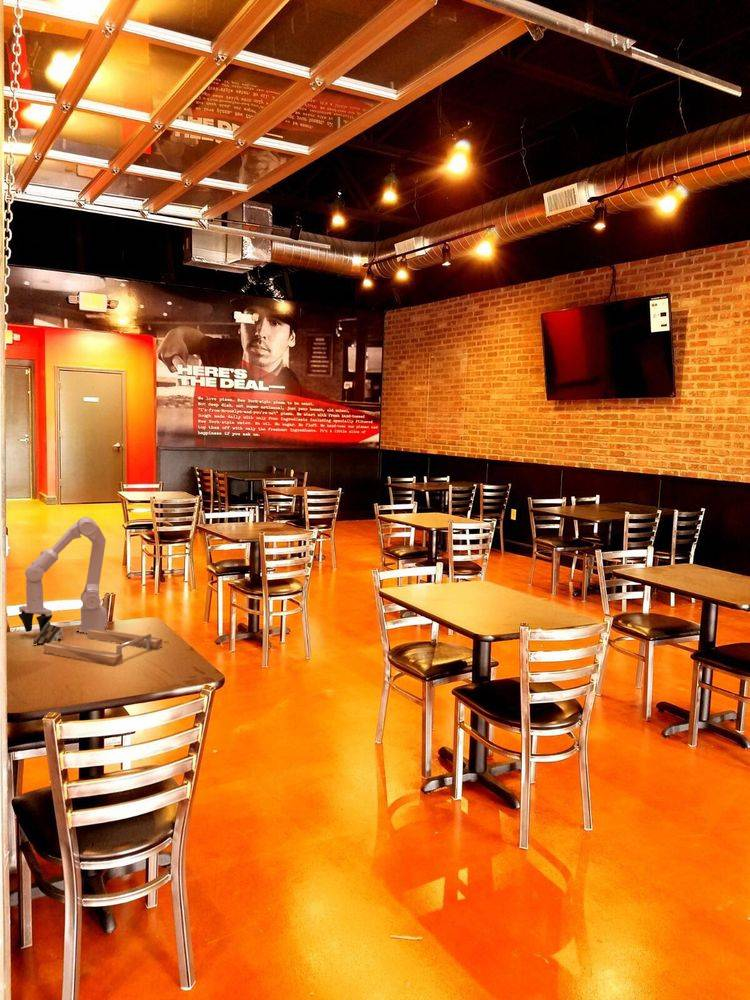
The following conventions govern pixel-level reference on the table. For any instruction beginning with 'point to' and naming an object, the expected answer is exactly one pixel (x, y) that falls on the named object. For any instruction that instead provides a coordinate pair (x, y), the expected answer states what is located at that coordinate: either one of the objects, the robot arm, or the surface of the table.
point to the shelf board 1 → (84, 653)
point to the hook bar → (148, 637)
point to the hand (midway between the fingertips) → (36, 632)
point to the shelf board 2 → (122, 637)
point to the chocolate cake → (49, 634)
